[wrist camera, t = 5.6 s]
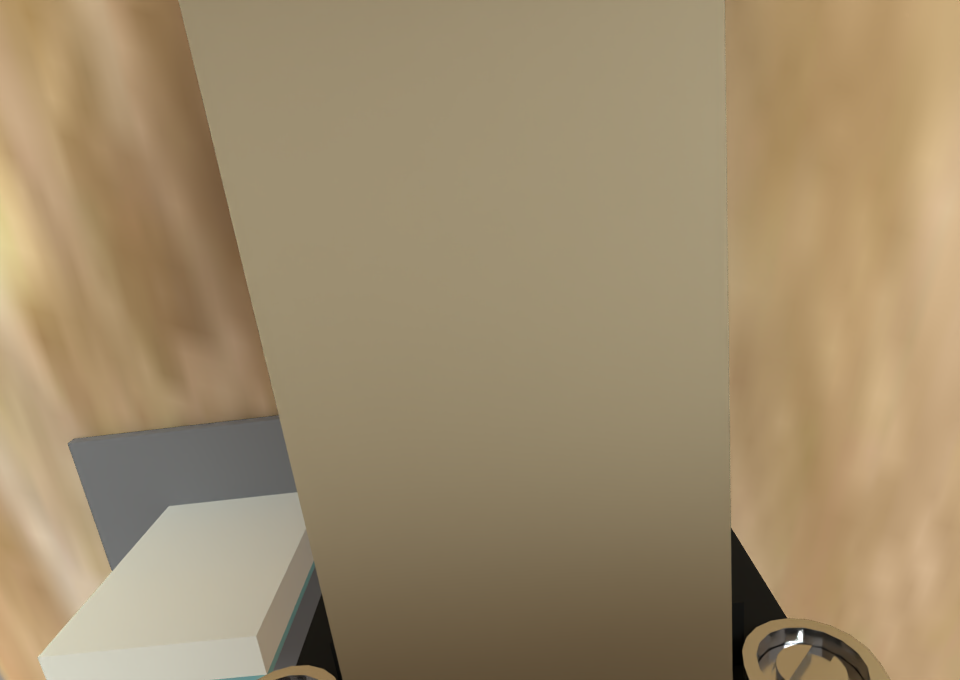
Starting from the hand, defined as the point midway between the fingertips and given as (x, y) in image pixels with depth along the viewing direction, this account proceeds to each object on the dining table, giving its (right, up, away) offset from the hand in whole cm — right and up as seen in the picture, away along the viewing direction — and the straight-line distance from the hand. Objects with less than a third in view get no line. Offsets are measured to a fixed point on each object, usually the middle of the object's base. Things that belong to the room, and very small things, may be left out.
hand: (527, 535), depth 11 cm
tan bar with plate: (0, 0, +1) cm, 1 cm away
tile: (-12, -7, +17) cm, 22 cm away
